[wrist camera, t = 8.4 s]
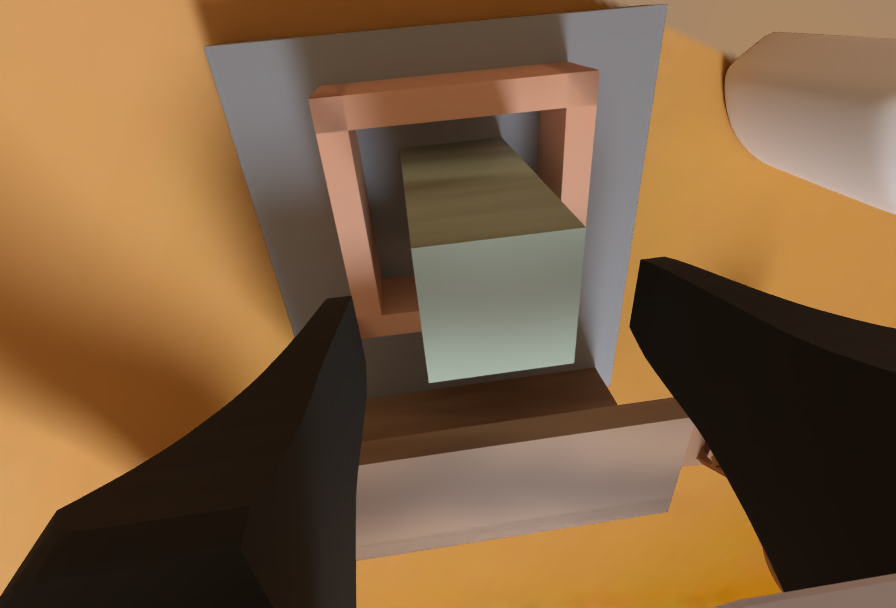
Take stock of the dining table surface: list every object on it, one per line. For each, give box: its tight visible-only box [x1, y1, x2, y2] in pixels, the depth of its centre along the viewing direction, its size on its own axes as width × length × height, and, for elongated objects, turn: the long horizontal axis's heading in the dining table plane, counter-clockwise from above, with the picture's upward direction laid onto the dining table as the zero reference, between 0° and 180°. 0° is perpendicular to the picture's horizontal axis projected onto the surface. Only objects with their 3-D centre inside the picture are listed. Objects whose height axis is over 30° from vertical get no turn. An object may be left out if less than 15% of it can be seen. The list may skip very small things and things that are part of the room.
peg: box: [400, 137, 586, 383], centre depth 15 cm, size 4×4×9 cm
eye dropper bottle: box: [725, 32, 896, 215], centre depth 15 cm, size 4×6×12 cm
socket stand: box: [204, 4, 667, 399], centre depth 20 cm, size 18×16×4 cm
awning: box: [356, 367, 694, 561], centre depth 20 cm, size 6×14×8 cm, turn 94°
